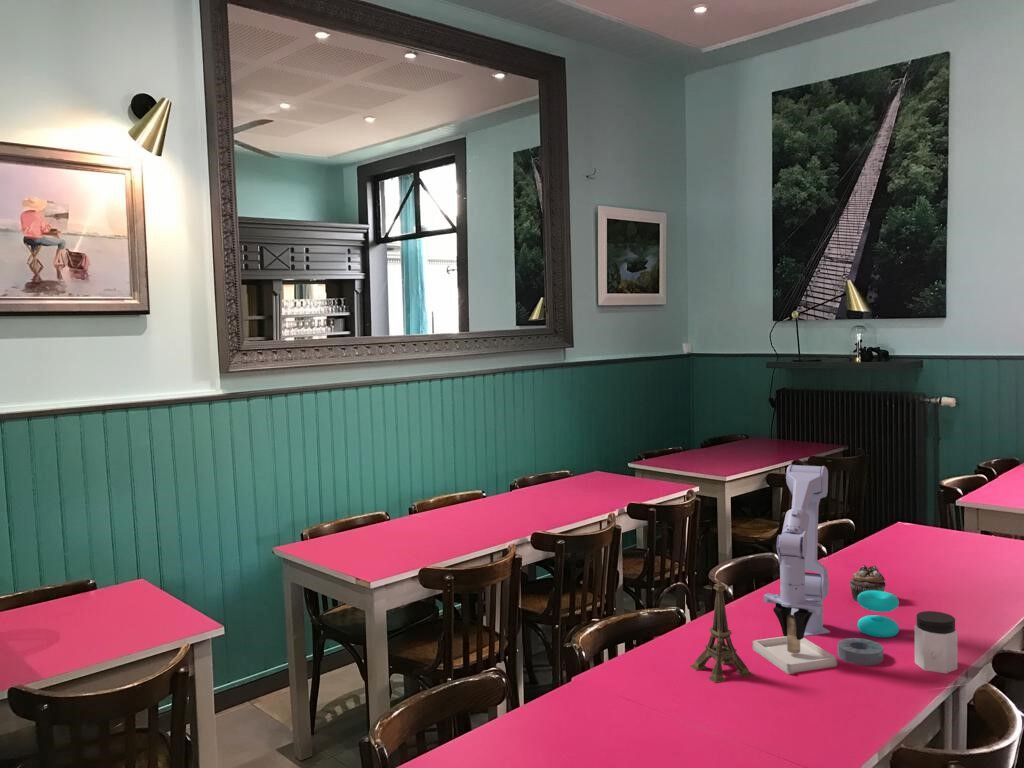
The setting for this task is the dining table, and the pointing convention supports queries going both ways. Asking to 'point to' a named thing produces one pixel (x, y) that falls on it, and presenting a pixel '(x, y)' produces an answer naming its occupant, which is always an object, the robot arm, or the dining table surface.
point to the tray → (794, 655)
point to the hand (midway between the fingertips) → (793, 636)
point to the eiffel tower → (720, 643)
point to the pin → (792, 635)
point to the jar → (936, 642)
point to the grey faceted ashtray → (860, 651)
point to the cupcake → (866, 581)
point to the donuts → (875, 623)
